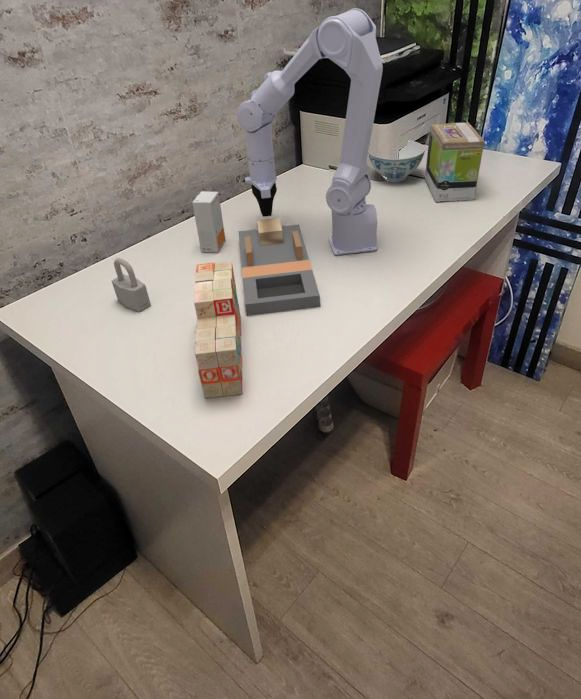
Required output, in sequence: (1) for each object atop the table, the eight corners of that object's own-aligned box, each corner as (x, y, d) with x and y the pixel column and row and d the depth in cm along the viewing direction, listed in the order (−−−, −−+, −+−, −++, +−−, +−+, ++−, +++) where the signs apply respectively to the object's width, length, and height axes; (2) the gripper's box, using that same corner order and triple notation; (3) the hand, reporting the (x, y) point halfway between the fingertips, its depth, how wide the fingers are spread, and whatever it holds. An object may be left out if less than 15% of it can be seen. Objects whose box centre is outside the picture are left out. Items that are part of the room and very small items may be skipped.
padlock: (115, 302, 106) (100, 258, 99) (131, 293, 108) (118, 249, 102) (137, 314, 102) (123, 269, 96) (153, 304, 104) (141, 259, 98)
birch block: (280, 230, 120) (279, 218, 118) (283, 242, 115) (282, 230, 113) (258, 233, 119) (257, 220, 117) (260, 245, 115) (259, 233, 113)
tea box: (475, 201, 130) (485, 139, 121) (434, 203, 131) (441, 142, 122) (461, 177, 142) (469, 120, 133) (423, 179, 143) (429, 122, 133)
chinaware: (410, 191, 137) (412, 162, 132) (357, 183, 144) (358, 154, 139) (430, 171, 147) (433, 143, 142) (380, 164, 153) (381, 136, 148)
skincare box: (218, 253, 118) (210, 202, 111) (201, 252, 119) (191, 202, 112) (226, 240, 123) (218, 191, 115) (209, 239, 124) (200, 190, 116)
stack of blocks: (244, 395, 83) (233, 333, 75) (204, 399, 83) (189, 338, 75) (240, 316, 99) (231, 258, 91) (207, 320, 99) (195, 262, 91)
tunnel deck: (299, 234, 123) (298, 212, 119) (320, 306, 100) (319, 281, 96) (239, 241, 122) (236, 219, 119) (246, 315, 99) (243, 290, 96)
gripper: (241, 148, 121) (248, 204, 129) (244, 171, 109) (251, 230, 118) (271, 145, 121) (276, 201, 130) (277, 167, 110) (282, 227, 118)
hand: (266, 215), depth 124 cm, fingers closed
